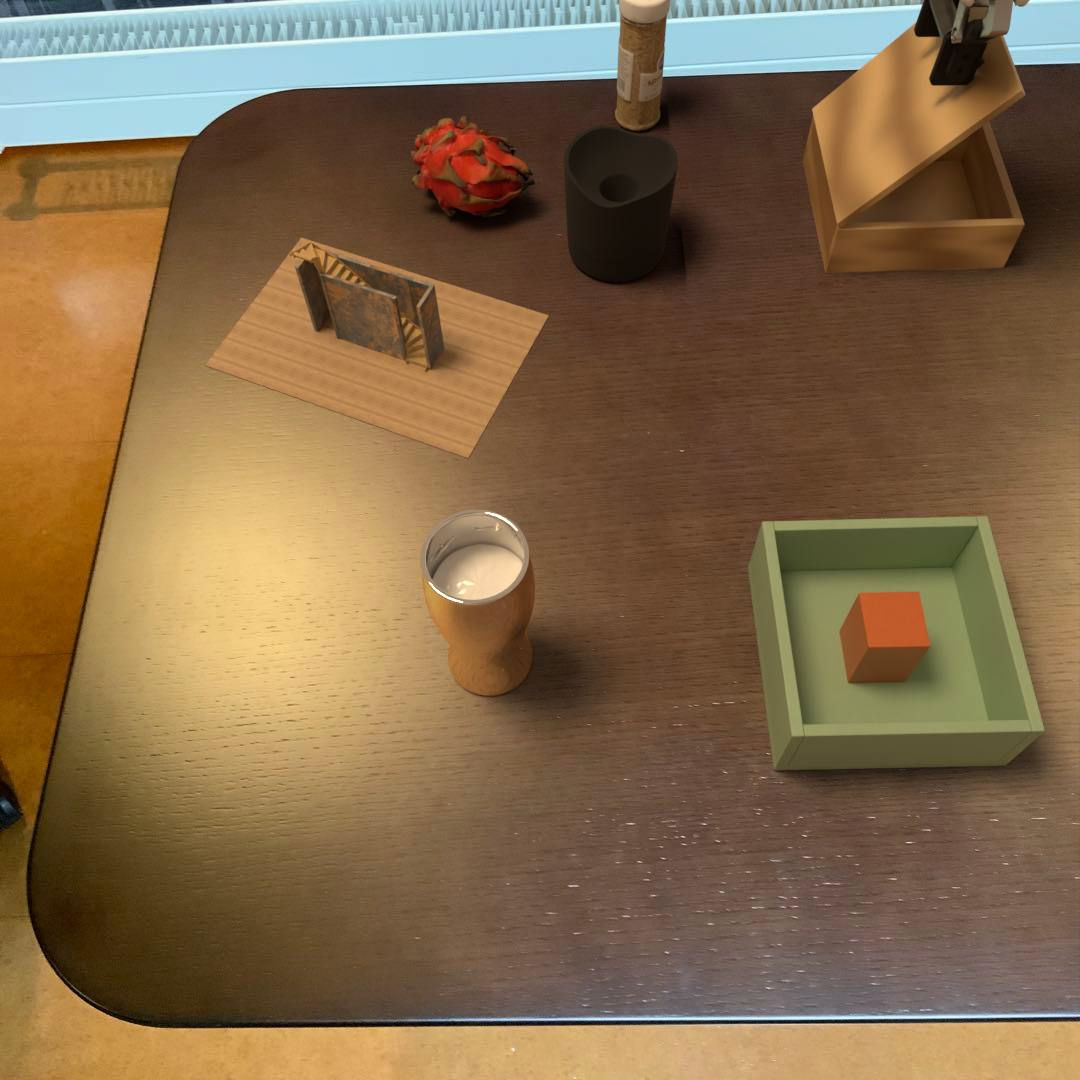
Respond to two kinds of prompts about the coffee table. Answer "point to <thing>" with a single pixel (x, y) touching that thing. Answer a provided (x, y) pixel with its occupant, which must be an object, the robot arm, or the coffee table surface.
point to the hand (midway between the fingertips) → (941, 56)
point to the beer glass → (481, 598)
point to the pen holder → (618, 201)
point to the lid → (906, 114)
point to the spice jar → (640, 62)
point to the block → (884, 637)
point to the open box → (936, 682)
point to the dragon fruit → (468, 168)
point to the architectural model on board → (381, 345)
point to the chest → (924, 214)
